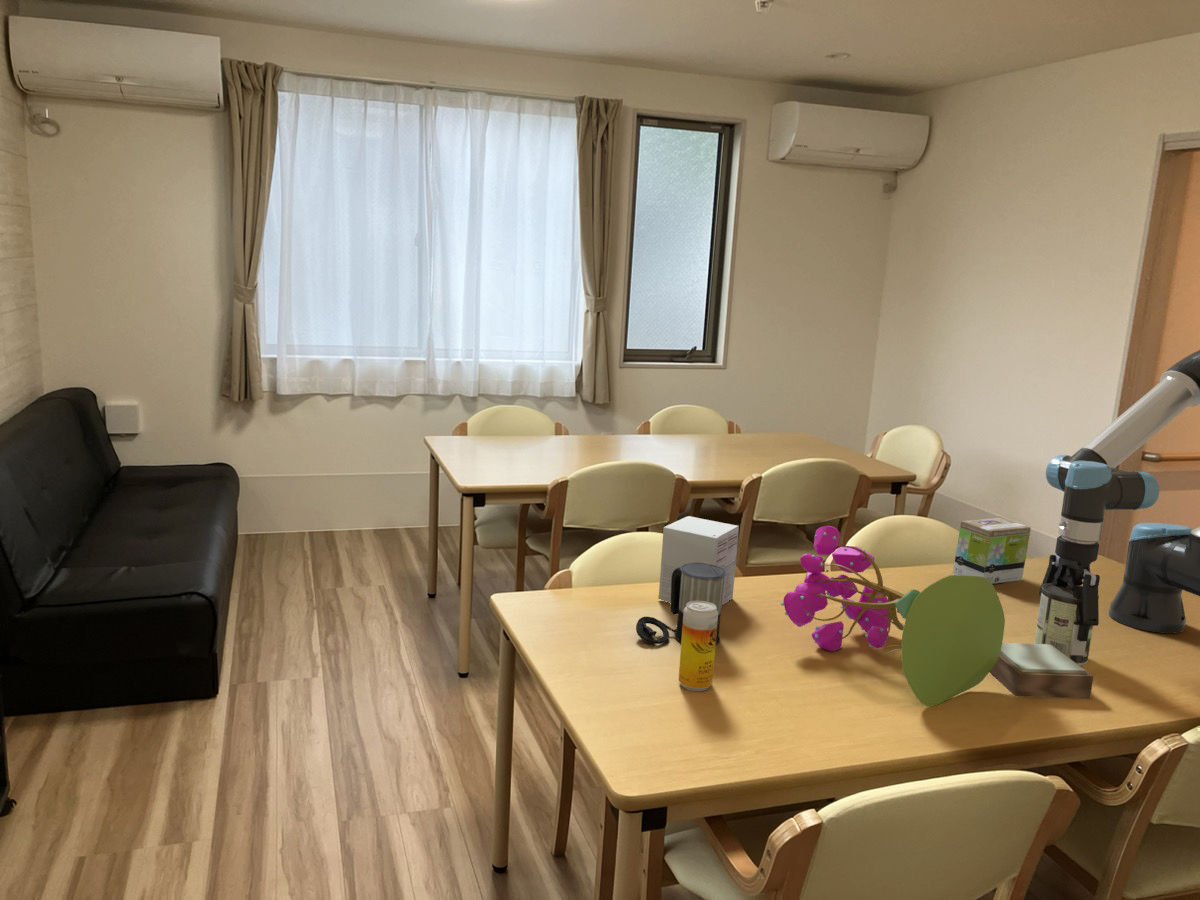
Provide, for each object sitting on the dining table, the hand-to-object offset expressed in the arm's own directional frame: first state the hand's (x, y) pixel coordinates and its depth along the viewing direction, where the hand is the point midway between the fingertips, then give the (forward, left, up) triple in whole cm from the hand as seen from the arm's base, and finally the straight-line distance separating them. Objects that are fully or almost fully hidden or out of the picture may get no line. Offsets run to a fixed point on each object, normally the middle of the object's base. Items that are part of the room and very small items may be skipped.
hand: (1061, 643), depth 185 cm
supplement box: (+71, -26, -3) cm, 76 cm away
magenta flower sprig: (+39, +4, -3) cm, 40 cm away
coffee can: (0, 0, -3) cm, 3 cm away
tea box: (-9, -50, -3) cm, 51 cm away
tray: (+12, +12, -3) cm, 17 cm away
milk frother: (+78, -3, -3) cm, 78 cm away
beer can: (+78, +18, -3) cm, 80 cm away
